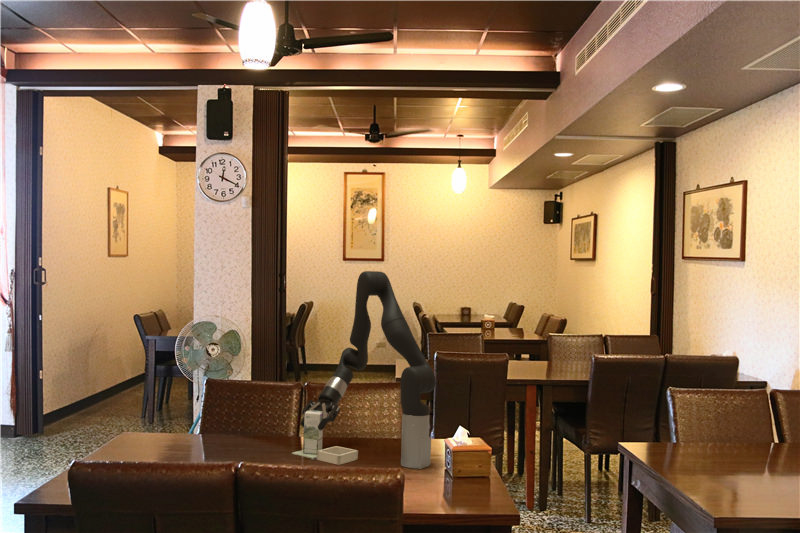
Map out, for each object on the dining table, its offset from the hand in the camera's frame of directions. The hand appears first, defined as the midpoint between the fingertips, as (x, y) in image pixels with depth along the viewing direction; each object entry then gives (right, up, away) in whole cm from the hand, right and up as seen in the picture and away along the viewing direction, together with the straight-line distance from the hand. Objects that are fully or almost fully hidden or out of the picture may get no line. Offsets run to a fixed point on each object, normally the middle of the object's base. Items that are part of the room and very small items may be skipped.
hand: (310, 427), depth 218 cm
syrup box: (+1, -9, +1) cm, 9 cm away
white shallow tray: (+5, -9, -3) cm, 11 cm away
